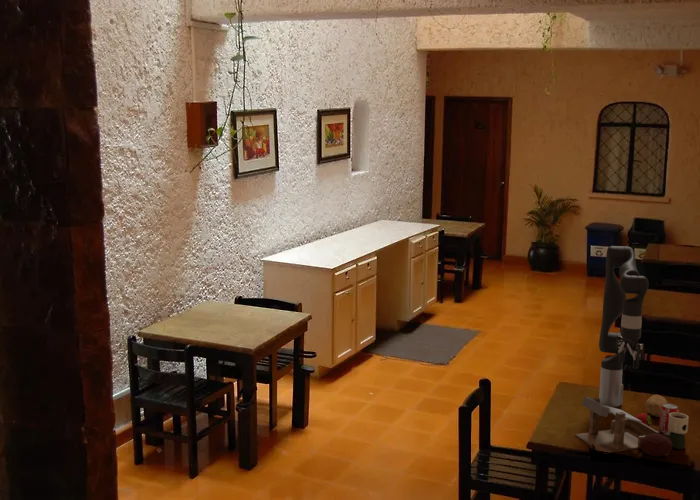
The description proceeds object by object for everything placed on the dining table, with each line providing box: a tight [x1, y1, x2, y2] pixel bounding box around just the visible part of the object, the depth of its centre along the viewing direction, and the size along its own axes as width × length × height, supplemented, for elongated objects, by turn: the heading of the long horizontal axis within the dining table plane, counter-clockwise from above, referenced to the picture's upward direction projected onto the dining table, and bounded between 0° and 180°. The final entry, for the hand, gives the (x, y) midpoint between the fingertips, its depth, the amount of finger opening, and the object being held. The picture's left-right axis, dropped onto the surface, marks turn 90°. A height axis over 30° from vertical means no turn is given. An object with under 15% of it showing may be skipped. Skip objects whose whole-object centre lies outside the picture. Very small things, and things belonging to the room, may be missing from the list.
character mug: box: [668, 412, 690, 450], centre depth 296 cm, size 11×7×13 cm, turn 142°
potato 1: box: [644, 394, 669, 418], centre depth 329 cm, size 10×14×8 cm
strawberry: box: [635, 412, 653, 427], centre depth 314 cm, size 6×8×10 cm
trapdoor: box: [581, 396, 642, 423], centre depth 300 cm, size 20×13×4 cm, turn 107°
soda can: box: [658, 402, 680, 437], centre depth 309 cm, size 7×7×12 cm
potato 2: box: [640, 433, 674, 457], centre depth 289 cm, size 12×11×8 cm
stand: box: [574, 397, 660, 454], centre depth 302 cm, size 26×18×15 cm
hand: (628, 365), depth 299 cm, fingers open, 8 cm apart
